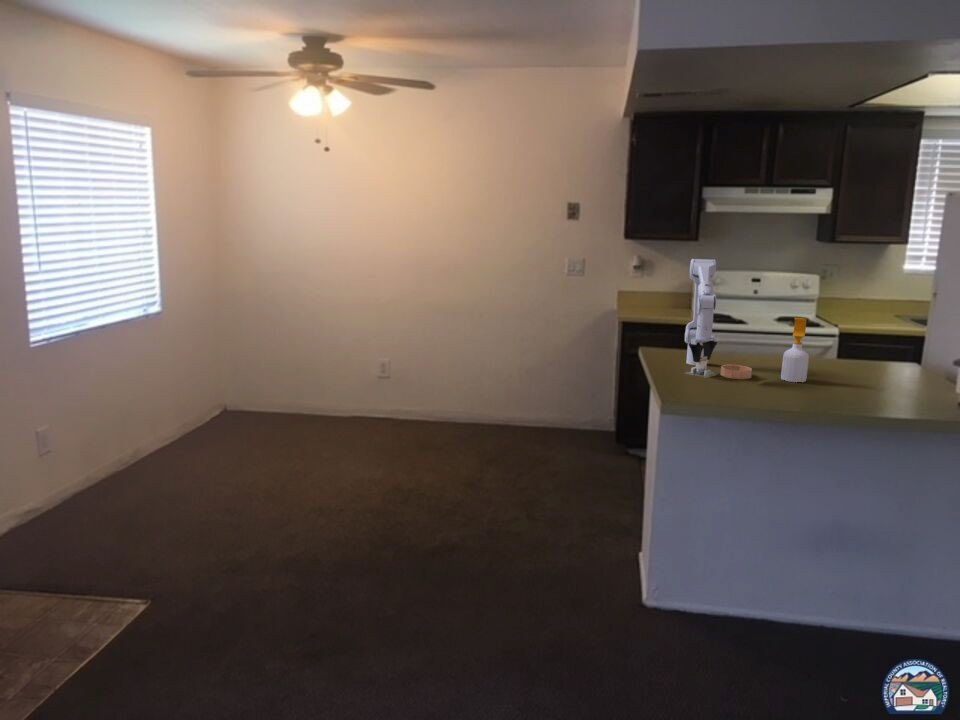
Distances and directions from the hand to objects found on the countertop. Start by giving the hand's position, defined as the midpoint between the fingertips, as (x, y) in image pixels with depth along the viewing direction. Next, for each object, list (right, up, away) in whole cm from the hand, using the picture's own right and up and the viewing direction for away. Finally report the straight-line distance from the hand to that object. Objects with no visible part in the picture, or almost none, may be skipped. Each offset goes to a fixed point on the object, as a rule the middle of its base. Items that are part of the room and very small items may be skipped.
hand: (701, 360), depth 282 cm
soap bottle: (+35, -8, -1) cm, 36 cm away
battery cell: (0, -5, +1) cm, 5 cm away
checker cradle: (0, -6, +1) cm, 6 cm away
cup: (+13, -7, 0) cm, 15 cm away
